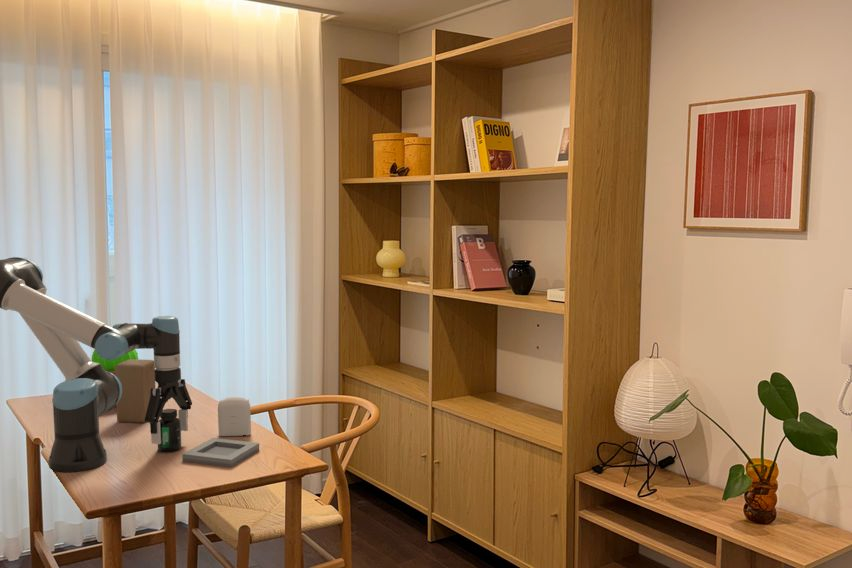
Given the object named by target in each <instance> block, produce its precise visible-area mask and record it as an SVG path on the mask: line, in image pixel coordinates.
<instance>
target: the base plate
mask: <svg viewBox="0 0 852 568" xmlns="http://www.w3.org/2000/svg"><path fill="white" fill-rule="evenodd" d="M259 451H260V443H259V442H253V441H243V440H236V439H228V438H227V439H224V438H216V437H212V438H210V439H208V440H206V441H204V442H203V443H201V444H199V445H197V446H194V447H193V448H191V449H189V450H187V451H185V452H183V453H182V457H181V458H182V462H186V463H193V464H202V465H210V466H218V467H225V468H233V467H234V466H236V465H238V464H239V463H241V462H242V461H244V460H245V459H247V458H249V457H251V456H252V455H254V454H255V453H257V452H259Z"/></svg>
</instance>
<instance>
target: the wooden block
mask: <svg viewBox="0 0 852 568" xmlns="http://www.w3.org/2000/svg"><path fill="white" fill-rule="evenodd" d="M155 369H156V368H155V367H154V359H139V358H138V359H129V360H126V361H124V362H122V363H119V364H117V365H116V367H115V372H116V377H117V378H118V379H119V380H120V382H121V385H122V395H121V398H120V400H119V402H118V403H117V407H116V421H117V422H119V423H134V422H136V423H138V424H141V423H142V424H143V423H146V422H145V416H146V412H147V408H148V404H149V400H150V394H151V388H156V381H155V374H154V370H155ZM149 418H150V417H149Z"/></svg>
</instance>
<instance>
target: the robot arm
mask: <svg viewBox="0 0 852 568" xmlns="http://www.w3.org/2000/svg"><path fill="white" fill-rule="evenodd" d="M43 278H44V274H43V271H42V269H41V267H40V266H39V265H38V264H37V263H36V262H34V261H33V260H31V259H28V258H26V257H17V256H16V257H15V256H14V257H8V258H6V259H5V258H4V259H0V309H2V310H4V311H9V310H10V311H12V312H13V311H14V312H16V313H18V314H19V315H20V317H21V318H22V319H23V320H24V321H23V322H25V324H26V325H27V326H28V328H29V329H30V330H31V332H32V333H33V335H34V336H35V338H36V339H37V340H38V341H39V343H40V344H41V346H42V347H43V348H44V350H45V351H46V353H47V355H48V356H49V357H50V358H51V359H52V361H53V362H54V364H55V366H57V368H58V369H59V371H60V372H61V374H62V375H63V377H64V379H65V380H63V381H62V382H60V383H58V384H57V385H56V386H55V387H54V388H53V392H52V399H51V400H52V407H53V408H52V409H53V411H52V412H53V425H54V426H53V429H54V431H53V432H54V441H53V444H52V446H51V447H52V448H51V451H50V455H49V457H48V467H49V469H50V470H52V471H55V472H61V473H62V472H63V473H66V472H67V473H74V472H80V471H81V472H82V471H87V470H92V469H95V468H97V467H101V466H103V465H104V464H105V463H106V462H107V461H108V459H107V450H106V448H105V447H104V444H103V441H102V438H101V435H100V418H99V417H101V416H102V415H104V414H106V413H108V412H109V411H111V410H113V409H114V408H115V407H114V406H115V405H116V404H117V403H118V402H119V400H120V398H121V395H122V385H121V382H120V380H119V379H118V378H117V377H116V376H115V375H114V374H112V373H109V372H106V371H105V370H104V369H103V367H102V366H101V364H100V363H96V362H92V359H90V358H91V357H89V356H88V354H87V353H86V351H85V350H84V349H83V346H81V343H82V344H83V345H85V346H88V347H89V348H92V349H93V350H96V352H97V354H98V355H99V356H100V357H101V358H103V359H106V360H112V359H116V358H119V357H122V356H123V355H124V354H126V353H128V352H130V351H132V350H134V349H135V350H136V349H137V350H138V349H143V350H144V349H150V350H151V349H153V361H154V367H155V370H154V374H155V383H157V387H155V388H151V394H150V400H149V404H148V408H147V412H146V416H145V422H144V423H149V428H150V429H149V431H150V432H149V433H150V441H151V444H152V445H153V444H154V445H158V444H161V431H160V422H158V421H159V420H160V419H161V418H160V415H161V413H162V410H164V408H165V405H166V404H167V403H168V401H169V400H171V399H173V401H175V403H176V404H177V406H178V407H179V409H178V410H177V416H178V419H179V420H180V421H181V432H187V431H189V424H188V423H189V421H188V420H189V413H188V410H191V409H192V405H193V401H192V399H191V397H190V394H189V391H188V389H187V387H186V386H187V385H186V379H184V378H182V370H181V347H180V340H181V339H180V333H181V332H180V326H179V318H177V317H176V316H174V315H161V316H155V317H153V318H152V320H151V323H128V322H124V323H116V324H114V325H113V326H110V325H108V324H106V323H105V322H103V321H101V320H99V319H96V318H94V317H92V316H90V315H88V314H85V313H84V312H81V311H79V310H78V309H75V308H73V307H72V306H69V305H67V304H65V303H63V302H61V301H59V300H57V299H55V298H54V297H51V296H48V295H47V290H48V288H47V287H46V285H45V284H44V280H43ZM149 417H150V418H149Z"/></svg>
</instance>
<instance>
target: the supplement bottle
mask: <svg viewBox="0 0 852 568" xmlns="http://www.w3.org/2000/svg"><path fill="white" fill-rule="evenodd" d="M158 422H160V431H161V444H157V450H158V451H159V452H160V453H164V452H165V453H166V454H167V453H169V452H170V453H174V452H178V451H180V450H181V449H182V431H181V421H180V420H179V417H178V410H177V409H175V408H165V409H164V408H163V410H162V413H161V415H160V418H159V420H158Z"/></svg>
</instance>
